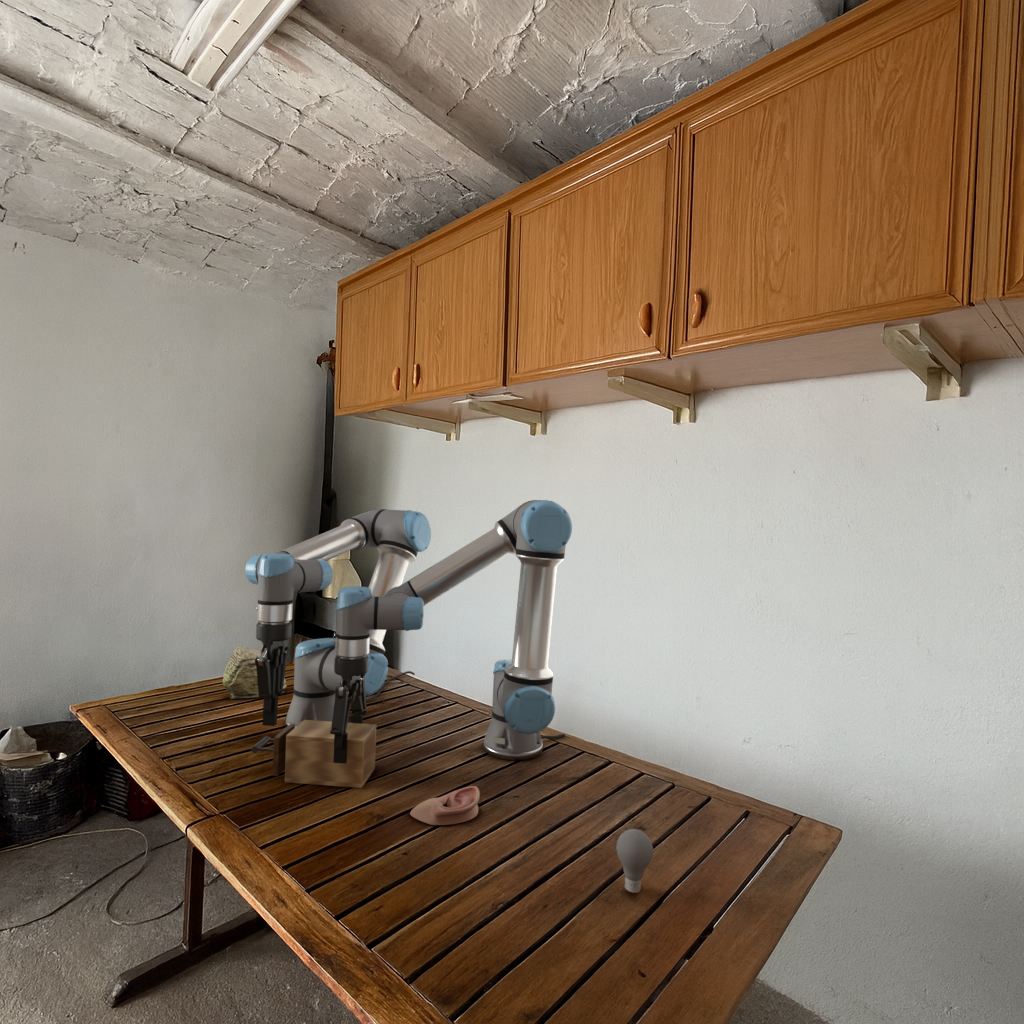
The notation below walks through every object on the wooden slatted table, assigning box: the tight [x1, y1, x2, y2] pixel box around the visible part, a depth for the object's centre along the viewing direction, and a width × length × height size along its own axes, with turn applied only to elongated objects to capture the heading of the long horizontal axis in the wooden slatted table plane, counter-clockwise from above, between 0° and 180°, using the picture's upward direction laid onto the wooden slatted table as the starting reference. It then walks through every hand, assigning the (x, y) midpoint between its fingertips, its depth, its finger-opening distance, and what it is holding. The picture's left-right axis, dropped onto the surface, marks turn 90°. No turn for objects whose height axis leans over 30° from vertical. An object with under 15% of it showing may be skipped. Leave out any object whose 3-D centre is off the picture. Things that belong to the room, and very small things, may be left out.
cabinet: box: [284, 720, 377, 789], centre depth 144 cm, size 17×10×10 cm, turn 86°
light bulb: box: [615, 828, 654, 894], centre depth 106 cm, size 6×6×10 cm
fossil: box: [222, 646, 288, 699], centre depth 198 cm, size 9×18×15 cm, turn 132°
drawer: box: [250, 724, 295, 777], centre depth 144 cm, size 22×9×9 cm, turn 86°
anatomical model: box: [409, 785, 481, 826], centre depth 129 cm, size 13×4×12 cm
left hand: (269, 724), depth 145 cm, fingers closed
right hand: (348, 752), depth 144 cm, fingers closed on cabinet, 10 cm apart
